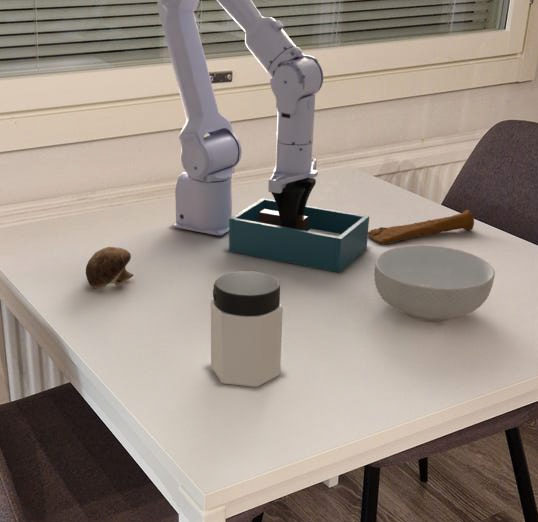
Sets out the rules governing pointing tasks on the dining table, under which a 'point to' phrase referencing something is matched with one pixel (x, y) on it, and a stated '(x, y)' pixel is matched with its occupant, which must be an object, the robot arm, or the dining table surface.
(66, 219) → the dining table surface
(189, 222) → the robot arm
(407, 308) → the cereal bowl
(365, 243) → the bin
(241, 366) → the jar
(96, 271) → the mushroom
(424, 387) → the dining table surface
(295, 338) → the dining table surface
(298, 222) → the scraper
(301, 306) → the dining table surface
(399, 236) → the primitive tool
